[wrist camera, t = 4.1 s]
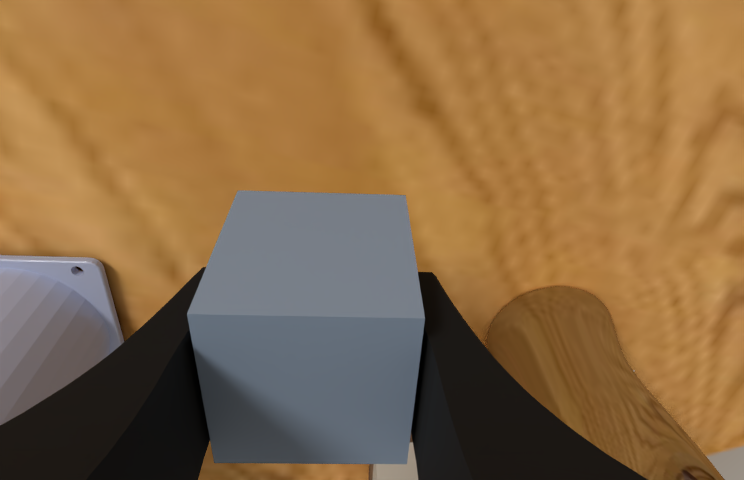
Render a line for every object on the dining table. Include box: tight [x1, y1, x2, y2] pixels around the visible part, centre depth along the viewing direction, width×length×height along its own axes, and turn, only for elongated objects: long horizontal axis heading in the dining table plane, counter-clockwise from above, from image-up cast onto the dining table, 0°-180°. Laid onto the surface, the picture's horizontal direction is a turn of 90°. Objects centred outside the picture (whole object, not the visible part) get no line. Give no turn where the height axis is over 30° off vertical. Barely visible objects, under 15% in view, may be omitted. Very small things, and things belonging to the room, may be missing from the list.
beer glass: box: [487, 286, 725, 480], centre depth 20 cm, size 7×7×15 cm
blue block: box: [187, 191, 425, 464], centre depth 12 cm, size 4×4×4 cm
